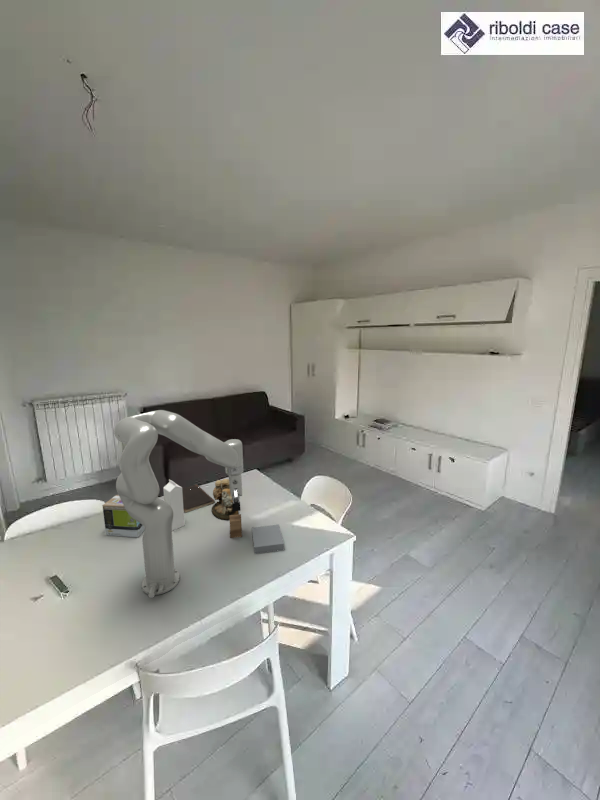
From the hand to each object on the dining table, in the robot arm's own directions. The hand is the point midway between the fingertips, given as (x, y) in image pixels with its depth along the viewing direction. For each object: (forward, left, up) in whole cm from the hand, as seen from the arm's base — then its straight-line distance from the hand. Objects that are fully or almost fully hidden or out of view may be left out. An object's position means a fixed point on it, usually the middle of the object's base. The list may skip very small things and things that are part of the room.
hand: (236, 504), depth 147 cm
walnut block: (0, +1, -14) cm, 14 cm away
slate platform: (-8, -12, -14) cm, 21 cm away
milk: (+12, +28, -14) cm, 33 cm away
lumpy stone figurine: (+20, +6, -14) cm, 25 cm away
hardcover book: (+35, +23, -15) cm, 45 cm away
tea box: (+12, +48, -14) cm, 51 cm away
